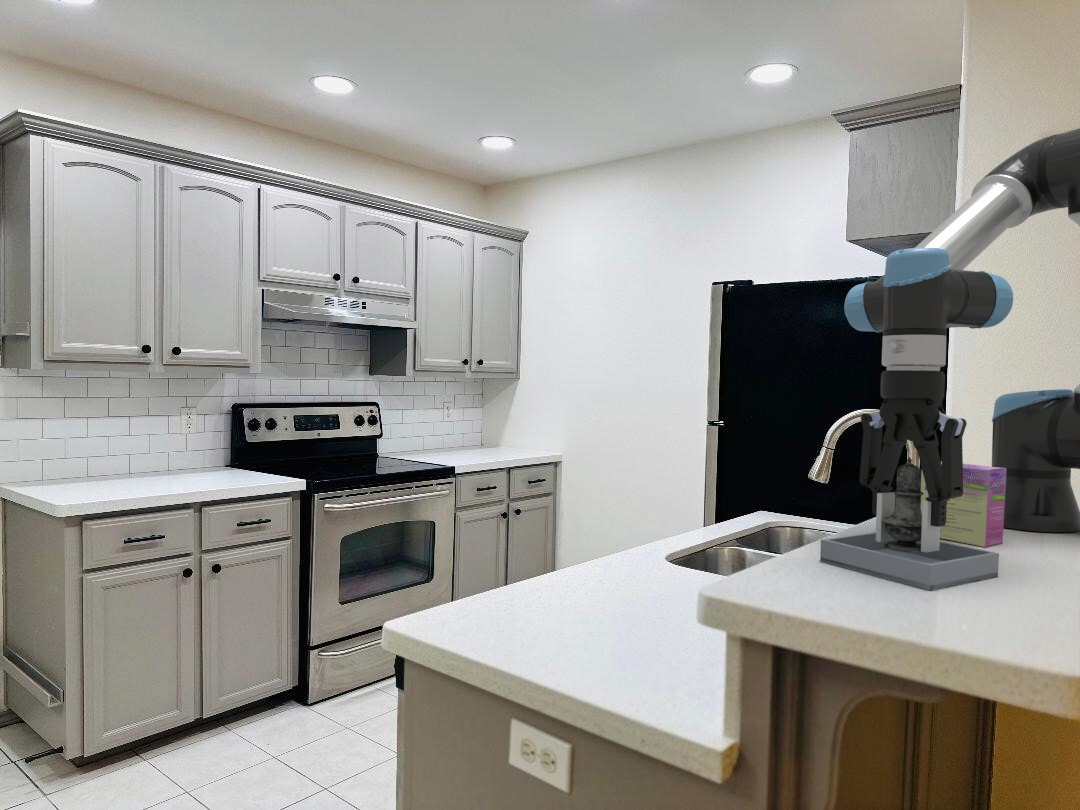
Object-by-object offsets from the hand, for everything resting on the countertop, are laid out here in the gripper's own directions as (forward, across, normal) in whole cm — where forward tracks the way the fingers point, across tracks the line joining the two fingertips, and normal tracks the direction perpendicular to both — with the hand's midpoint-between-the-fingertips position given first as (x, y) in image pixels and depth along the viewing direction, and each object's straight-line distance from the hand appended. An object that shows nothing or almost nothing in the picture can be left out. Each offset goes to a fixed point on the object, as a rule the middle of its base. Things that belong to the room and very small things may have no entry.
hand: (906, 545), depth 102 cm
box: (+3, -8, +25) cm, 26 cm away
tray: (+3, 0, 0) cm, 3 cm away
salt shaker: (+1, 0, 0) cm, 1 cm away
